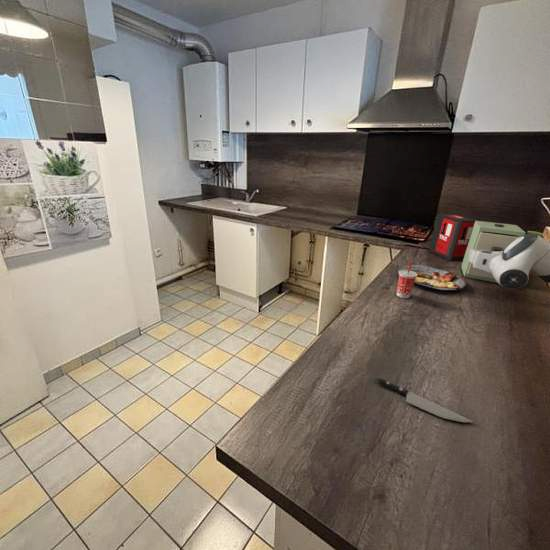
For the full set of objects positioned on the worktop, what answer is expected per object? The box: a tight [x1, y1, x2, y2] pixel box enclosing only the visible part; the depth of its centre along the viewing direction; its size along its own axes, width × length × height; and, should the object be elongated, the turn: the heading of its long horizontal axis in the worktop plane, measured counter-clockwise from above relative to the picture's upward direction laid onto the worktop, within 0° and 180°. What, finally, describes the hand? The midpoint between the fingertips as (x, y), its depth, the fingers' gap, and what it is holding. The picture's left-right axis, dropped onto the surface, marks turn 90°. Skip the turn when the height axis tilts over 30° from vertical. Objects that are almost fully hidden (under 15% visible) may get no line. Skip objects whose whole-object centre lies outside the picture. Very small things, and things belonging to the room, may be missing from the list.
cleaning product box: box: [428, 213, 478, 262], centre depth 149 cm, size 16×9×20 cm, turn 10°
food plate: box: [397, 264, 467, 292], centre depth 120 cm, size 25×23×4 cm
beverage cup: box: [396, 259, 417, 299], centre depth 105 cm, size 6×6×14 cm
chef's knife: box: [376, 377, 474, 423], centre depth 61 cm, size 19×1×3 cm
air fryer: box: [461, 220, 527, 284], centre depth 124 cm, size 14×15×23 cm
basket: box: [467, 232, 517, 278], centre depth 122 cm, size 17×14×18 cm
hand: (495, 253), depth 116 cm, fingers closed on basket, 3 cm apart
